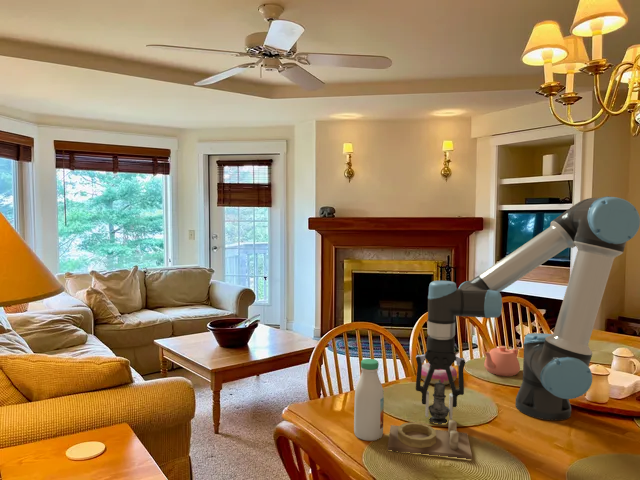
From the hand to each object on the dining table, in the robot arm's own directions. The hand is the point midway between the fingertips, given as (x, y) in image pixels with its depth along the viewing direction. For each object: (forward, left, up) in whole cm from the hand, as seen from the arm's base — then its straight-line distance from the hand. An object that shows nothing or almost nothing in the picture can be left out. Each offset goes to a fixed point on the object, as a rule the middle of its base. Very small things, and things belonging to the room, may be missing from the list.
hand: (438, 416), depth 134 cm
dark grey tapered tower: (0, 0, -2) cm, 2 cm away
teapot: (-24, -48, -2) cm, 54 cm away
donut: (-1, -34, -2) cm, 34 cm away
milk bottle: (+19, +13, -2) cm, 23 cm away
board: (+3, +15, -1) cm, 15 cm away
